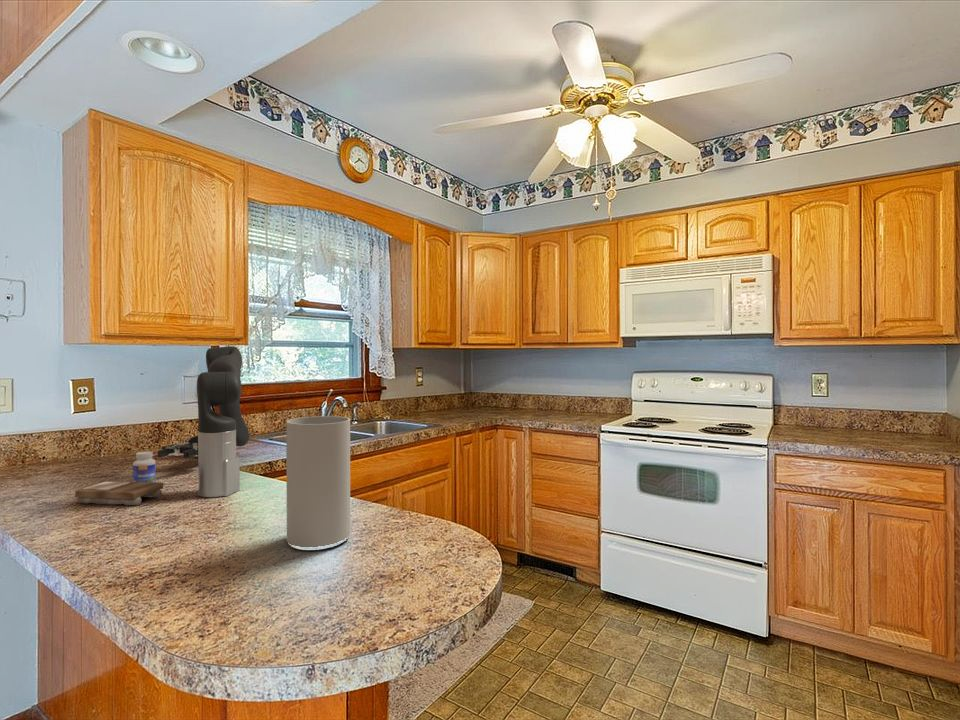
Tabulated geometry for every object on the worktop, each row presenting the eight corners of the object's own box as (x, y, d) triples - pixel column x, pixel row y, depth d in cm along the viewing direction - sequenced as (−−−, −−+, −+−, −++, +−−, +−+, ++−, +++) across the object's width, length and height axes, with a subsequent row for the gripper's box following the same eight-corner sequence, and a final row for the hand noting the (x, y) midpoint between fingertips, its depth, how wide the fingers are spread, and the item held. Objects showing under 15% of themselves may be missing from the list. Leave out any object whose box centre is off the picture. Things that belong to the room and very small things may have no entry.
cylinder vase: (286, 533, 108) (286, 417, 107) (346, 526, 112) (346, 415, 112) (286, 556, 96) (286, 425, 96) (353, 547, 100) (353, 422, 100)
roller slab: (163, 495, 135) (162, 481, 135) (133, 507, 126) (133, 492, 125) (108, 493, 137) (108, 480, 137) (75, 504, 127) (75, 490, 127)
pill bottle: (137, 490, 141) (136, 455, 141) (130, 486, 144) (129, 452, 144) (158, 485, 145) (158, 452, 145) (151, 482, 148) (151, 450, 148)
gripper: (185, 433, 173) (150, 442, 156) (225, 434, 171) (193, 443, 155) (186, 454, 173) (150, 466, 157) (225, 456, 171) (193, 467, 155)
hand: (171, 454), depth 156 cm, fingers open, 8 cm apart
